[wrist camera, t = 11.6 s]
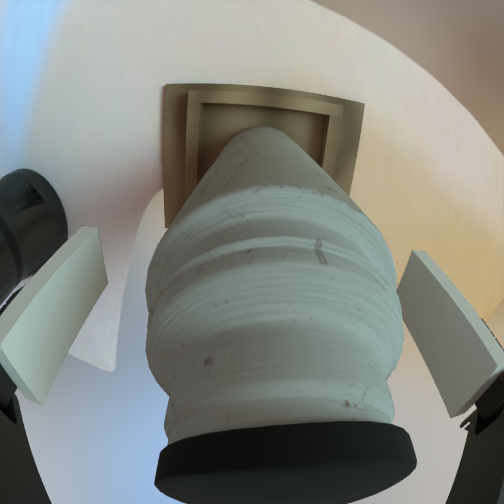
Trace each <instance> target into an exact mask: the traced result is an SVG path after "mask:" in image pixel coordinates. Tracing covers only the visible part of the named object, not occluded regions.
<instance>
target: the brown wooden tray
mask: <svg viewBox="0 0 504 504" xmlns="http://www.w3.org/2000/svg"><path fill="white" fill-rule="evenodd" d="M364 105H365V104H364V103H359V102H355V101H351V100H346V99H342V98H337V97H332V96H326V95H321V94H315V93H309V92H303V91H296V90H289V89H281V88H272V87H262V86H250V85H234V84H166V93H165V113H164V159H163V166H164V213H165V228H169V226H170V225H171V223H172V222H173V220H174V219H175V217H176V216H177V214H178V213H179V211H180V210H181V208H182V207H183V205H184V204H185V202H186V201H187V199H188V198H189V196H190V195H191V194H192V192H193V191H194V189H195V188H196V186H197V185H198V184H199V182H200V181H201V179H202V178H203V176H204V175H205V174H206V172H207V171H208V170H209V169H210V167H211V166H212V165H213V164H214V163H215V161H216V159H217V158H218V156H219V155H220V153H221V152H222V151H223V149H224V148H225V147H226V145H227V144H228V143H229V141H230V140H231V139H232V138H233V137H234V136H235V135H237V134H238V133H239V132H241V131H243V130H245V129H247V128H251V127H254V126H267V127H272V128H275V129H278V130H280V131H282V132H283V133H285V134H286V135H287V136H288V137H290V138H291V139H292V140H293V141H294V142H295V143H296V144H297V145H298V146H299V147H300V148H301V149H302V150H304V151H305V152H306V153H307V154H308V155H309V156H310V157H311V158H312V159H313V160H314V161H315V162H316V163H317V164H318V165H319V166H320V167H321V168H322V169H323V170H324V171H325V172H326V173H327V174H328V175H329V176H330V177H331V178H332V179H333V180H334V181H335V182H336V183H337V184H338V185H339V186H340V188H341V189H342V190H343V191H344V192H345V193H346V194H347V195H348V196H349V194H350V189H351V184H352V179H353V174H354V168H355V163H356V157H357V152H358V146H359V140H360V133H361V127H362V120H363V113H364Z"/></svg>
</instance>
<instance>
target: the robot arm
mask: <svg viewBox="0 0 504 504" xmlns="http://www.w3.org/2000/svg"><path fill="white" fill-rule="evenodd" d="M67 238H68V228H67V221H66V216H65V212H64V209H63V206H62V204H61V201H60V199H59V197H58V195H57V194H56V192H55V190H54V189H53V187H52V186H51V185H50V184H49V182H48V181H47V180H46V179H45V178H44V177H42V176H41V175H40V174H38V173H37V172H35V171H32V170H29V169H18V170H16V171H13V172H11V173H9V174H7V175H6V176H4V177H3V178H2V179H0V305H1V304H2V303H3V301H4V300H5V299H6V298H7V297H8V295H9V294H10V293H11V292H12V291H13V289H14V288H15V287H16V286H17V285H18V284H19V283H20V282H21V281H22V280H24V279H27V278H29V277H31V276H33V275H34V276H33V277H32V278H31V279H30V281H29V282H28V283H27V284H26V285H24V286H23V287H21V288H20V289H19V290H17V291H16V292H14V293H13V294H12V296H11V297H10V298H9V299H8V300H7V302H6V305H5V304H4V305H3V307H2V308H1V309H0V504H52V503H51V501H50V499H49V497H48V494H47V492H46V490H45V487H44V485H43V482H42V480H41V477H40V475H39V472H38V470H37V467H36V464H35V461H34V458H33V455H32V452H31V449H30V446H29V442H28V439H27V435H26V431H25V428H24V424H23V420H22V415H21V411H20V406H19V402H18V399H17V397H16V395H15V394H14V393H15V391H16V389H17V388H18V389H19V390H20V391H21V393H22V394H23V395H24V396H25V398H27V399H30V400H31V401H34V402H36V403H39V404H41V405H43V403H44V400H45V398H46V396H47V394H48V392H49V389H50V387H51V385H52V383H53V381H54V379H55V377H56V375H57V373H58V371H59V369H60V367H61V364H62V362H63V361H64V359H65V357H66V355H67V353H68V351H69V349H70V347H71V345H72V344H73V342H74V340H75V338H76V336H77V334H78V333H79V331H80V329H81V327H82V326H83V324H84V322H85V320H86V319H87V317H88V315H89V313H90V312H91V310H92V308H93V307H94V305H95V303H96V302H97V300H98V298H99V297H100V295H101V294H102V292H103V290H104V289H105V287H106V286H107V284H108V279H107V275H106V270H105V265H104V260H103V255H102V250H101V244H100V239H99V233H98V227H91V226H82V227H81V228H80V229H79V230H78V231H77V232H76V233H75V234H74V235H73V236H72V237H71V238H70V239H69V240H68V241H67ZM396 293H397V294H398V297H399V301H400V305H401V309H402V319H403V321H404V322H405V324H406V326H407V328H408V330H409V331H410V333H411V335H412V337H413V339H414V341H415V343H416V345H417V347H418V349H419V351H420V353H421V355H422V357H423V359H424V361H425V363H426V365H427V367H428V369H429V371H430V373H431V375H432V377H433V379H434V382H435V384H436V386H437V388H438V390H439V393H440V395H441V397H442V399H443V402H444V404H445V406H446V409H447V411H448V413H449V416H450V418H453V417H455V416H458V415H461V414H464V413H465V412H466V411H467V410H468V409H469V408H470V407H471V406H472V405H473V404H474V403H475V405H476V407H477V409H476V410H475V411H474V412H473V413H472V414H470V415H469V417H467V418H466V419H465V420H464V421H463V422H462V423H461V425H460V428H462V427H463V426H464V425H466V424H467V423H468V422H470V424H469V425H468V426H467V427H466V428H465V430H467V431H468V435H467V439H466V443H465V447H464V451H463V455H462V458H461V461H460V465H459V468H458V471H457V474H456V477H455V480H454V483H453V486H452V489H451V491H450V494H449V496H448V499H447V501H446V504H504V349H503V348H502V346H501V345H500V343H499V342H498V340H497V339H496V338H494V337H495V336H494V335H493V333H492V332H491V331H490V330H489V328H488V326H487V325H486V323H485V322H484V321H483V319H481V318H480V317H479V315H478V314H477V313H476V311H475V310H474V309H473V307H472V306H471V305H470V303H469V302H468V301H467V300H466V298H465V297H464V296H463V295H462V293H461V292H460V291H459V290H458V288H457V287H456V286H455V285H454V284H453V282H452V281H451V280H450V279H449V278H448V277H447V275H446V274H445V273H444V272H443V271H442V270H441V268H440V267H439V266H438V265H437V264H436V263H435V262H434V261H433V259H432V258H431V257H430V256H429V255H428V254H427V253H426V252H425V251H415V250H412V252H411V255H410V258H409V261H408V263H407V266H406V269H405V271H404V274H403V276H402V279H401V281H400V284H399V286H398V289H397V291H396Z"/></svg>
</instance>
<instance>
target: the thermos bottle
mask: <svg viewBox="0 0 504 504" xmlns="http://www.w3.org/2000/svg"><path fill="white" fill-rule="evenodd" d="M396 276H397V275H396V270H395V266H394V261H393V257H392V253H391V251H390V249H389V247H388V245H387V243H386V242H385V240H384V238H383V236H382V234H381V232H380V231H379V230H378V229H377V227H376V226H375V225H374V224H373V223H372V222H371V221H370V219H369V218H368V217H367V216H366V215H365V214H364V213H363V211H362V210H361V209H360V208H359V207H358V206H357V205H356V204H355V203H354V201H353V200H352V199H351V198H350V197H349V196H348V195H347V194H346V193H345V192H344V191H343V190H342V189H341V188H340V186H339V185H338V184H337V183H336V182H335V181H334V180H333V179H332V178H331V177H330V176H329V175H328V174H327V173H326V172H325V171H324V170H323V169H322V168H321V167H320V166H319V165H318V164H317V163H316V162H315V161H314V160H313V159H312V158H311V157H310V156H309V155H308V154H307V153H306V152H305V151H304V150H302V149H301V148H300V147H299V146H298V145H297V144H296V143H295V142H294V141H293V140H292V139H291V138H290V137H288V136H287V135H286V134H285V133H283V132H282V131H280V130H278V129H275V128H272V127H267V126H254V127H251V128H247V129H245V130H243V131H241V132H239V133H238V134H237V135H235V136H234V137H233V138H232V139H231V140H230V141H229V143H228V144H227V145H226V147H225V148H224V149H223V151H222V152H221V153H220V155H219V156H218V158H217V159H216V161H215V163H214V164H213V165H212V166H211V167H210V169H209V170H208V171H207V172H206V174H205V175H204V176H203V178H202V179H201V181H200V182H199V184H198V185H197V186H196V188H195V189H194V191H193V192H192V194H191V195H190V196H189V198H188V199H187V201H186V202H185V204H184V205H183V207H182V208H181V210H180V211H179V213H178V214H177V216H176V217H175V219H174V220H173V222H172V223H171V225H170V226H169V228H168V230H167V231H166V233H165V234H164V236H163V238H162V239H161V241H160V242H159V244H158V245H157V248H156V250H155V253H154V255H153V257H152V260H151V262H150V265H149V268H148V273H147V281H146V289H145V292H146V300H147V307H148V312H149V316H148V325H147V329H148V332H147V340H146V355H147V360H148V364H149V368H150V370H151V372H152V374H153V376H154V377H155V379H156V381H157V383H158V384H159V385H160V386H161V388H162V389H163V390H164V391H165V392H166V393H167V395H168V396H170V397H169V402H168V406H167V411H166V416H165V421H164V429H165V432H166V435H167V438H168V445H167V446H166V447H165V448H164V449H163V450H162V451H161V452H160V455H159V460H158V465H157V471H156V476H155V482H154V485H155V486H156V487H157V488H158V490H159V491H160V492H162V493H164V494H165V495H167V496H169V497H171V498H173V499H176V500H178V501H180V502H183V503H186V504H348V503H351V502H354V501H358V500H361V499H363V498H366V497H369V496H372V495H374V494H377V493H379V492H381V491H383V490H385V489H388V488H389V487H391V486H393V485H395V484H397V483H398V482H400V481H401V480H403V479H404V478H406V477H407V476H408V475H410V474H411V473H412V472H413V470H414V469H415V468H416V465H417V459H416V455H415V451H414V448H413V445H412V441H411V438H410V435H409V434H408V433H407V432H406V431H405V430H404V429H403V428H401V427H398V426H395V425H393V424H392V421H393V418H394V415H395V409H394V404H393V399H392V396H391V393H390V390H389V387H388V384H387V379H388V378H389V376H390V374H391V373H392V372H393V371H394V369H395V367H396V365H397V363H398V360H399V358H400V356H401V353H402V348H403V341H404V330H403V323H402V309H401V305H400V301H399V297H398V294H397V293H396Z"/></svg>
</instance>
